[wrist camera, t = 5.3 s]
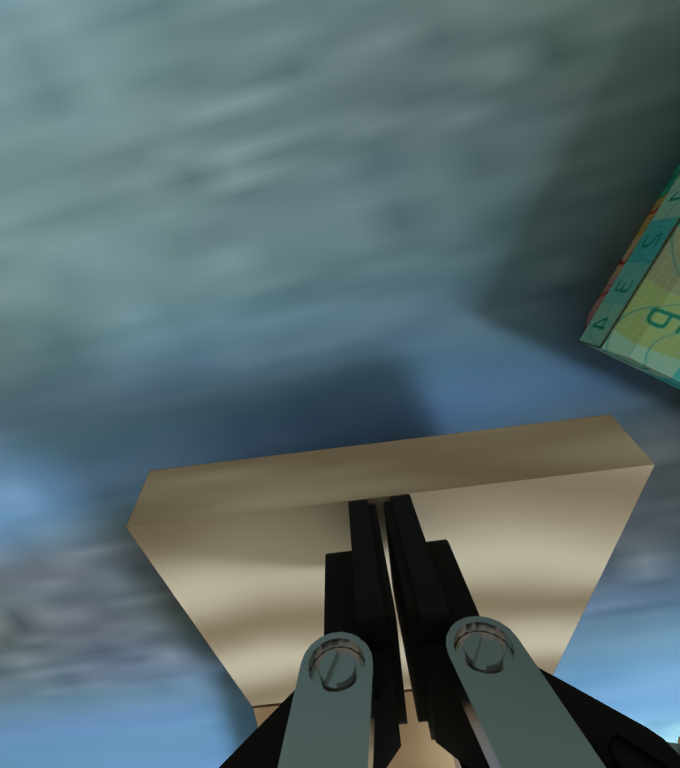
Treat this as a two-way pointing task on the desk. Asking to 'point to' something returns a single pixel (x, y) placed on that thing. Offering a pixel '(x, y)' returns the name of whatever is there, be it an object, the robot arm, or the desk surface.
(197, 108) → the desk surface
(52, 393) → the desk surface
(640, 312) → the puzzle game
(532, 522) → the birch plank
